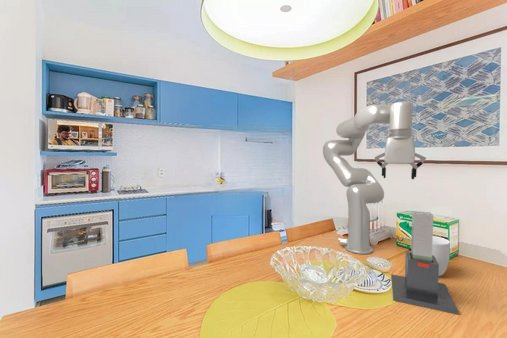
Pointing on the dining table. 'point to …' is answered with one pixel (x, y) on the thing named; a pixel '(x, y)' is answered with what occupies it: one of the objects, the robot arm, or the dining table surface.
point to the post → (422, 236)
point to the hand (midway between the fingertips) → (398, 178)
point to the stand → (422, 286)
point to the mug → (441, 253)
